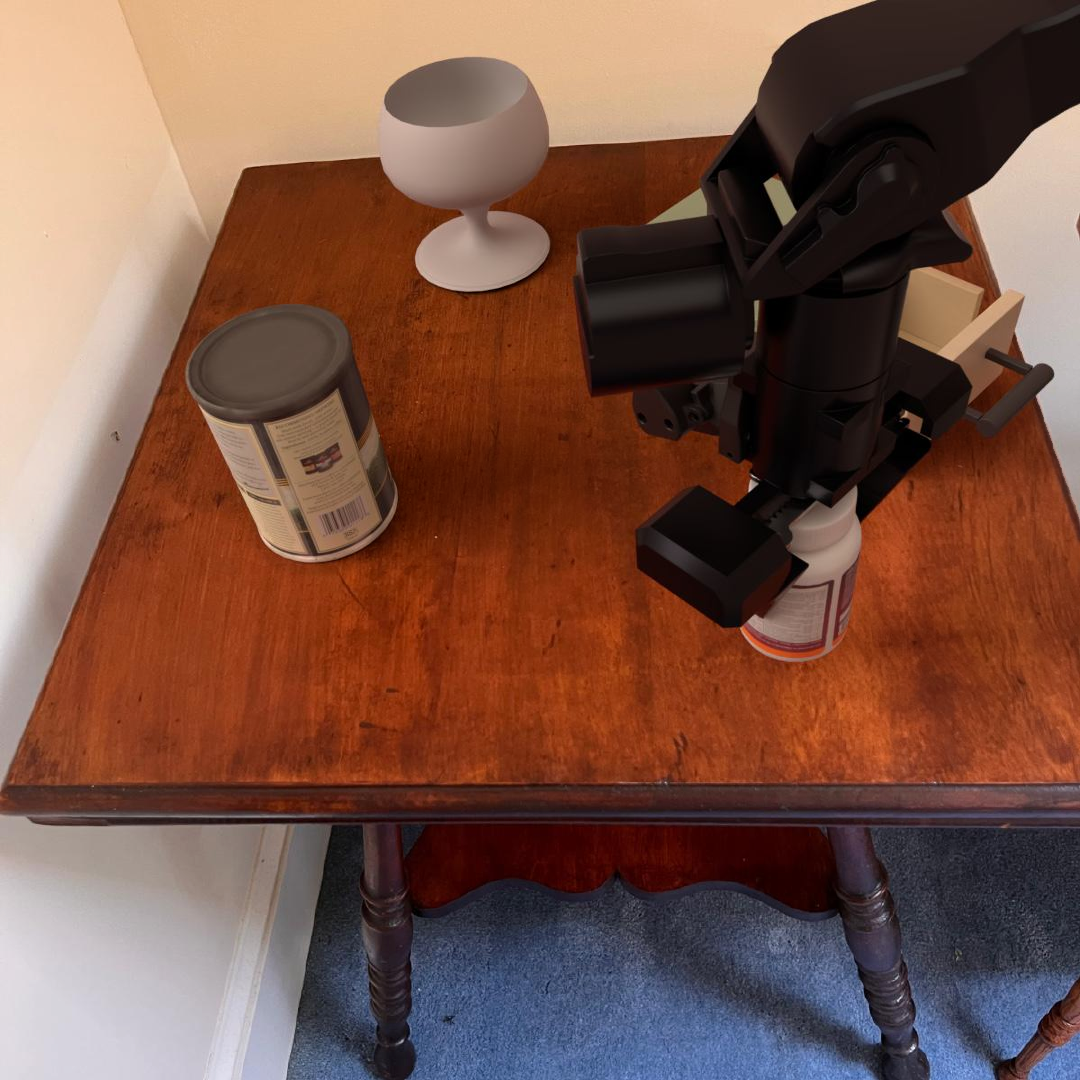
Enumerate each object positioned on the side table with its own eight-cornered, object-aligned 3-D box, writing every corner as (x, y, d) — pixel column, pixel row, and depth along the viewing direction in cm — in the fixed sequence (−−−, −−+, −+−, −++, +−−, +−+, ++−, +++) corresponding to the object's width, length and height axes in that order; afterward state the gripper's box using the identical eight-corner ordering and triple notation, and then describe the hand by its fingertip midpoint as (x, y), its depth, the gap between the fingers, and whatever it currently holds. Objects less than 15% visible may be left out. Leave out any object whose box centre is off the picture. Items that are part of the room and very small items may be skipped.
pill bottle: (805, 561, 61) (818, 424, 52) (871, 635, 57) (897, 500, 48) (715, 606, 60) (713, 473, 51) (776, 685, 56) (785, 555, 47)
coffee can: (319, 441, 79) (262, 286, 68) (426, 485, 74) (384, 328, 64) (226, 532, 73) (149, 379, 63) (335, 585, 69) (273, 432, 58)
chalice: (591, 234, 93) (578, 68, 82) (497, 320, 86) (470, 152, 75) (470, 196, 99) (443, 37, 88) (374, 273, 92) (331, 112, 81)
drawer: (1061, 400, 72) (1090, 321, 67) (954, 507, 67) (977, 431, 62) (844, 302, 82) (855, 226, 76) (735, 389, 76) (738, 314, 71)
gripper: (803, 189, 52) (781, 418, 63) (535, 381, 44) (566, 601, 56) (1010, 269, 46) (943, 506, 58) (740, 506, 38) (727, 722, 50)
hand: (794, 576), depth 55 cm, fingers closed on pill bottle, 6 cm apart
